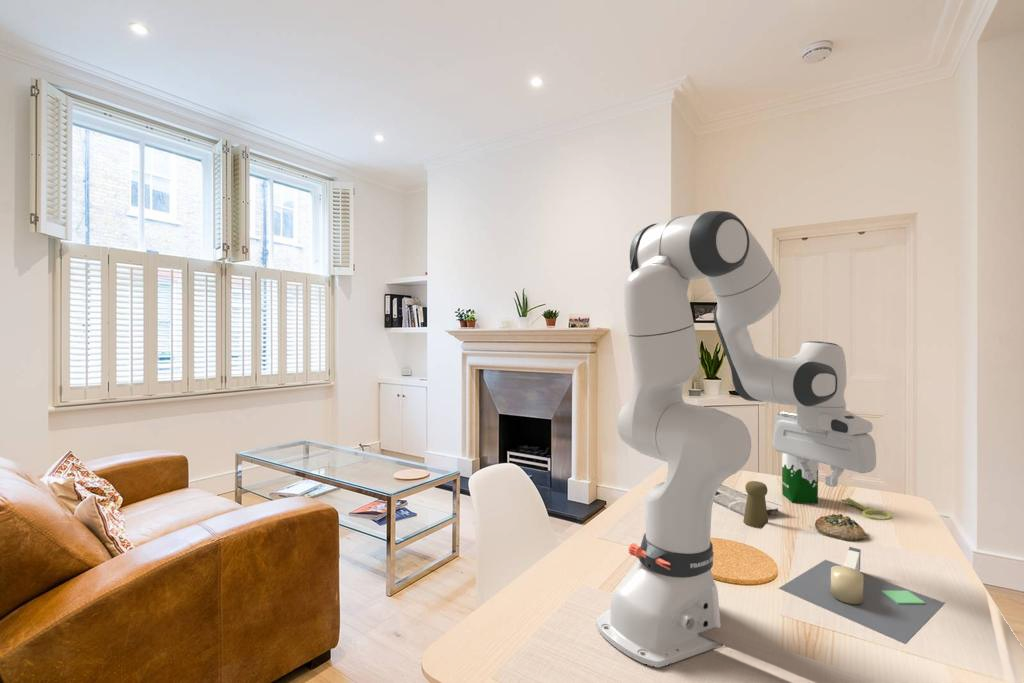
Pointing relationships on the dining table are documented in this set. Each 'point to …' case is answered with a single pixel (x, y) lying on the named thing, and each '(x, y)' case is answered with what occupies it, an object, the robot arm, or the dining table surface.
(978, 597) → the dining table surface
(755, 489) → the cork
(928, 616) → the dial board
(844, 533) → the bread roll
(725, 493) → the newspaper
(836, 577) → the dial lever
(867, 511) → the key
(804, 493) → the milk carton
